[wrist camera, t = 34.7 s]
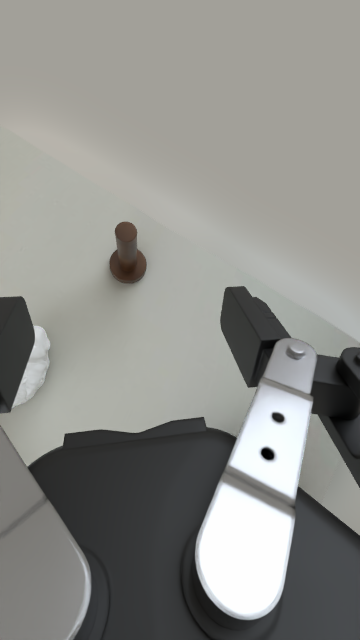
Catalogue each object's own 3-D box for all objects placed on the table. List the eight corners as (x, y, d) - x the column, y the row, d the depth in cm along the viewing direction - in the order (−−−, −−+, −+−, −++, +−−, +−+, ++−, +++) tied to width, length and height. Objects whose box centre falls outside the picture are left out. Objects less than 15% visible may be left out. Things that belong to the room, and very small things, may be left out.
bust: (-3, 413, 36) (14, 470, 28) (-68, 388, 31) (-72, 447, 23) (61, 336, 39) (93, 367, 30) (9, 302, 34) (31, 327, 26)
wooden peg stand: (126, 243, 40) (124, 200, 30) (153, 265, 40) (159, 231, 30) (102, 267, 39) (91, 231, 29) (129, 290, 39) (127, 263, 29)
